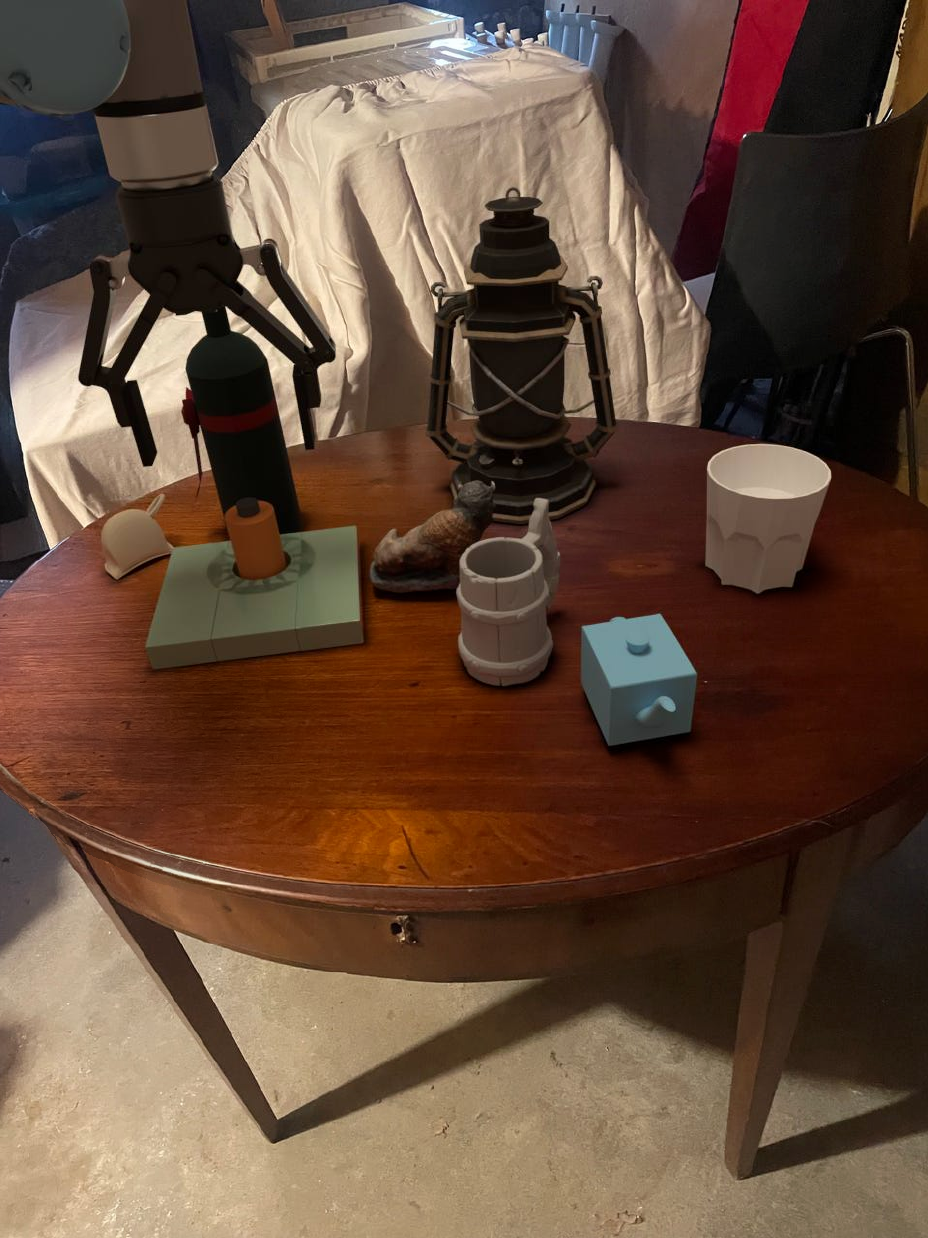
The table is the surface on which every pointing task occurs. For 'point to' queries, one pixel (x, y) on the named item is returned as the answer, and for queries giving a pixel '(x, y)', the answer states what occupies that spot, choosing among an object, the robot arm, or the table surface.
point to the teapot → (637, 679)
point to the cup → (762, 513)
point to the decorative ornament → (133, 539)
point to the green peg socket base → (258, 602)
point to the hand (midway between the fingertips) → (230, 451)
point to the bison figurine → (434, 544)
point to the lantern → (520, 368)
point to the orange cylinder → (255, 539)
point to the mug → (509, 603)
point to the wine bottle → (239, 421)
